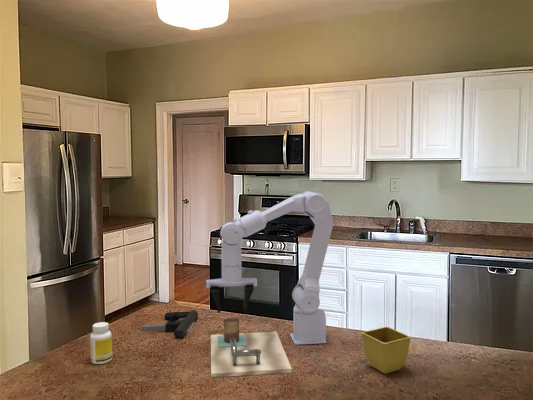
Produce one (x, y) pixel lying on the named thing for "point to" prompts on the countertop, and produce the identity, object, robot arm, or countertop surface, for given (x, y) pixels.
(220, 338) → the pad
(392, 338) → the flower pot
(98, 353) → the supplement bottle
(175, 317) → the door handle
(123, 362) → the countertop surface
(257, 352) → the bent wire
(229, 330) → the walnut cylinder
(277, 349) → the birch board
